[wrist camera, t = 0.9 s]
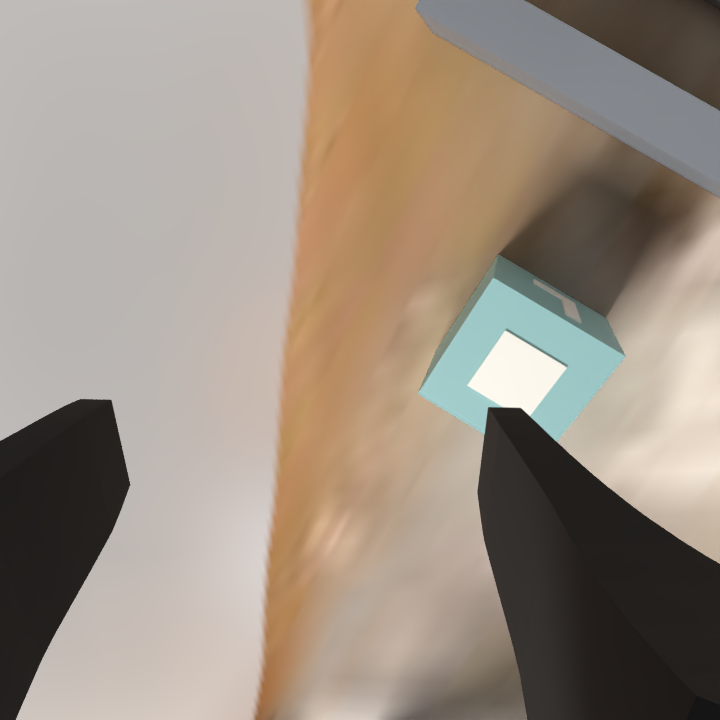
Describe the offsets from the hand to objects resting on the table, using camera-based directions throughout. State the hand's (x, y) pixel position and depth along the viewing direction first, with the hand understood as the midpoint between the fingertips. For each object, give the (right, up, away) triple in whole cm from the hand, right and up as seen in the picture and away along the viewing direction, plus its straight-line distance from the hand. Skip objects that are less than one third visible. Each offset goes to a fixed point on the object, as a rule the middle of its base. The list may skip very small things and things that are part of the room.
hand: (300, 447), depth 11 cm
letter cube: (+8, +3, +13) cm, 16 cm away
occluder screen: (+12, +10, +10) cm, 18 cm away
